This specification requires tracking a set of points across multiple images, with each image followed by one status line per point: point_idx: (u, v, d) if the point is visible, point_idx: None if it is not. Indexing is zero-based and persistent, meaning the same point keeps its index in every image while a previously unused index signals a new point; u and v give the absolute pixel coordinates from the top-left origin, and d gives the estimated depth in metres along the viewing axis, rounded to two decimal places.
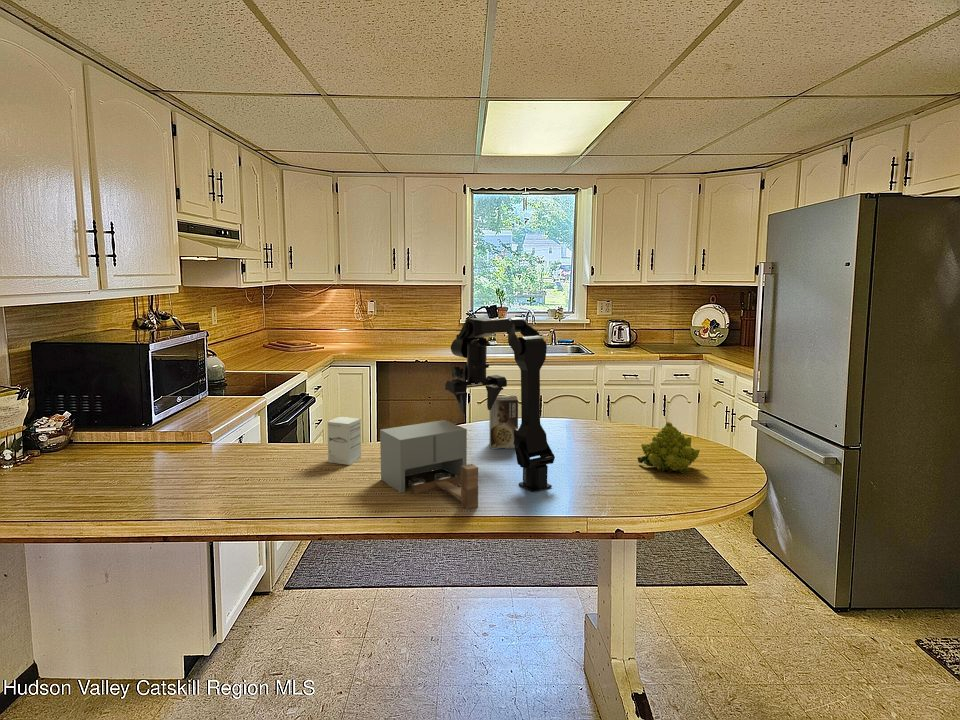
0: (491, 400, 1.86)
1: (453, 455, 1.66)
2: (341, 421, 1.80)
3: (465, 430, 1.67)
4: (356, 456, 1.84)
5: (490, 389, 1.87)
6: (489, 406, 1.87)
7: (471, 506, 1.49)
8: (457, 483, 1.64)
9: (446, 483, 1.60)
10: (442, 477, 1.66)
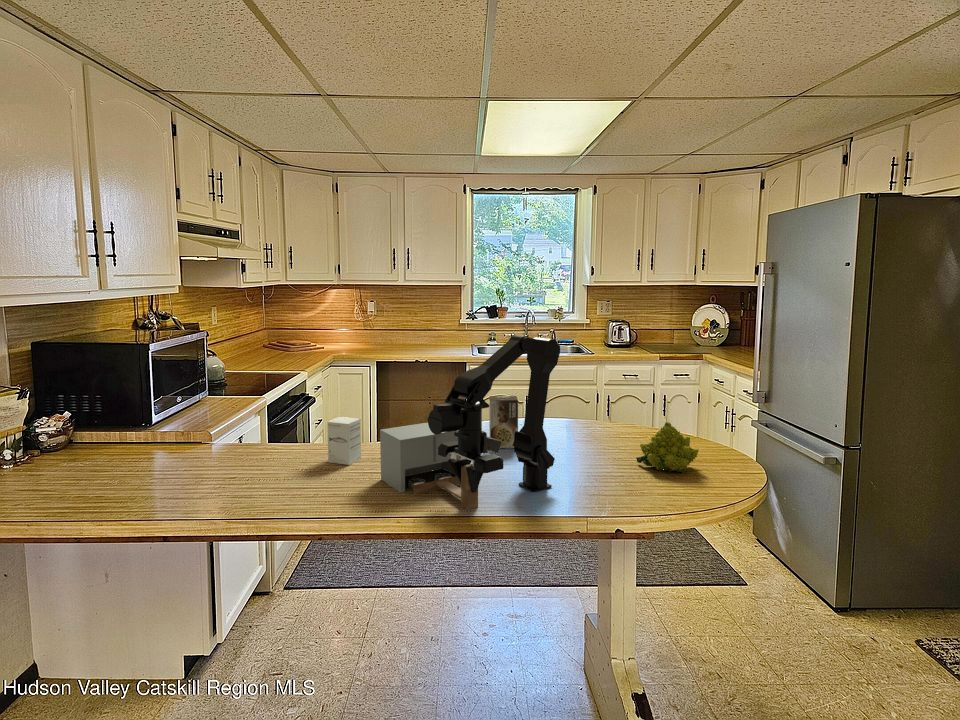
0: None
1: None
2: (341, 421, 1.80)
3: None
4: (356, 456, 1.84)
5: None
6: None
7: (471, 506, 1.49)
8: (457, 483, 1.64)
9: (447, 483, 1.60)
10: (442, 477, 1.66)
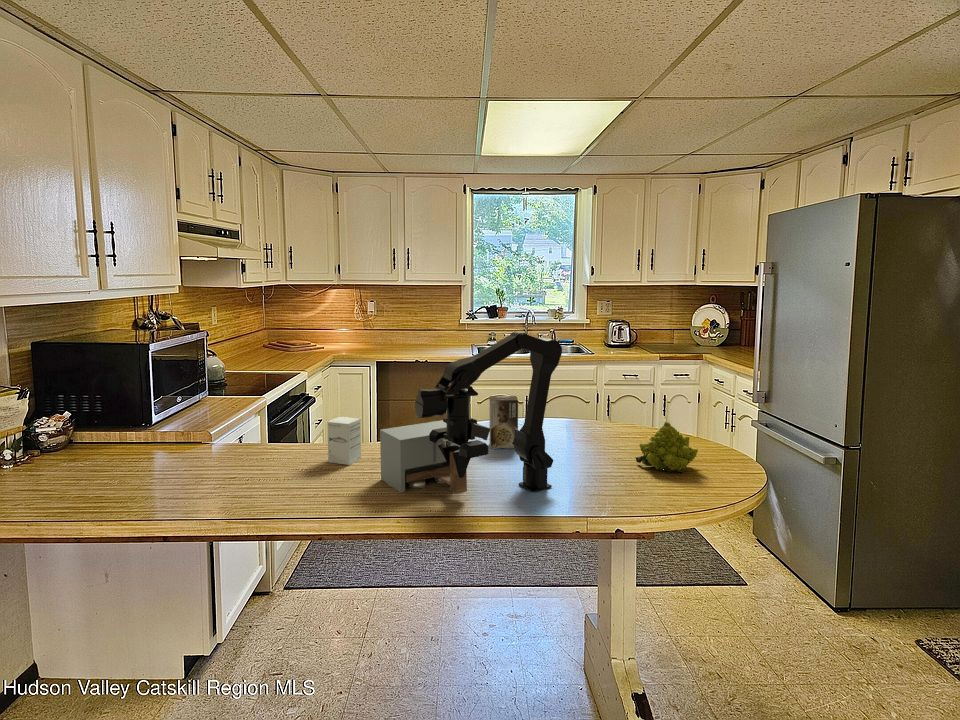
0: None
1: None
2: (341, 421, 1.80)
3: None
4: (356, 456, 1.84)
5: None
6: None
7: (460, 491, 1.52)
8: (448, 472, 1.68)
9: (437, 471, 1.64)
10: None
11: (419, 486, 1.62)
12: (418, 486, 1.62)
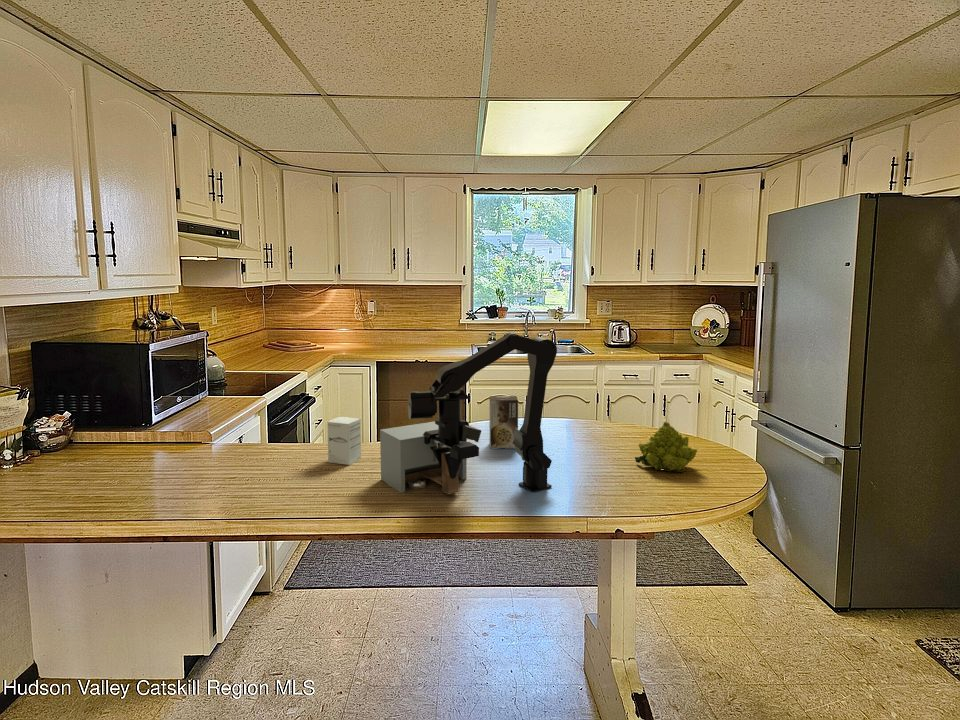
0: None
1: None
2: (341, 421, 1.80)
3: None
4: (356, 456, 1.84)
5: None
6: None
7: (452, 491, 1.56)
8: None
9: (429, 472, 1.67)
10: None
11: (419, 486, 1.62)
12: (418, 486, 1.62)
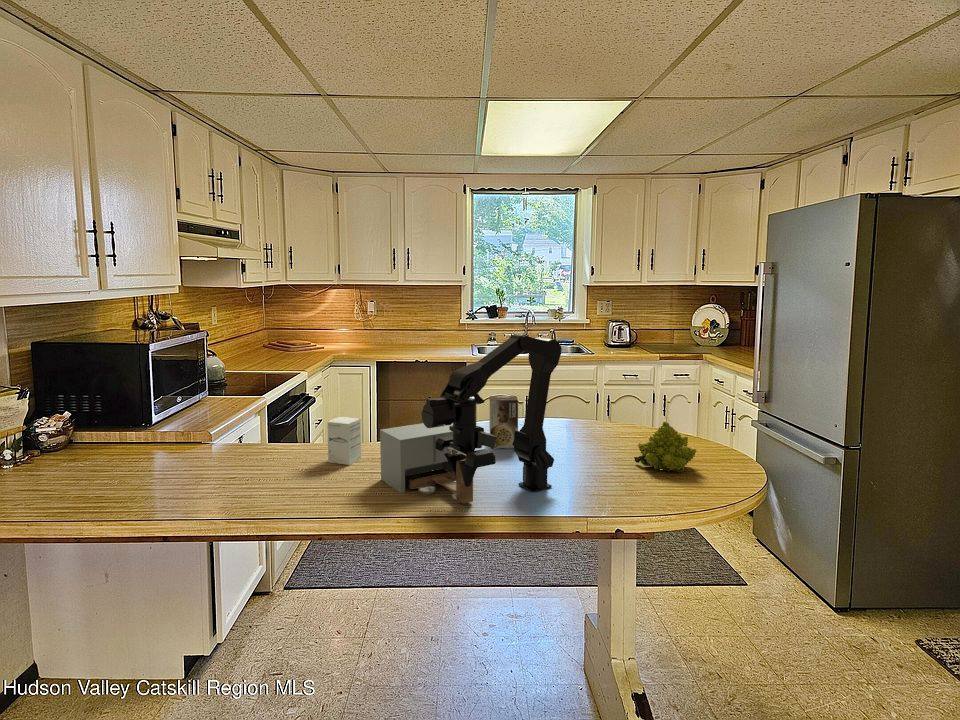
0: None
1: None
2: (341, 421, 1.80)
3: None
4: (356, 456, 1.84)
5: None
6: None
7: (466, 501, 1.50)
8: None
9: (442, 478, 1.61)
10: None
11: (429, 491, 1.57)
12: (428, 491, 1.57)
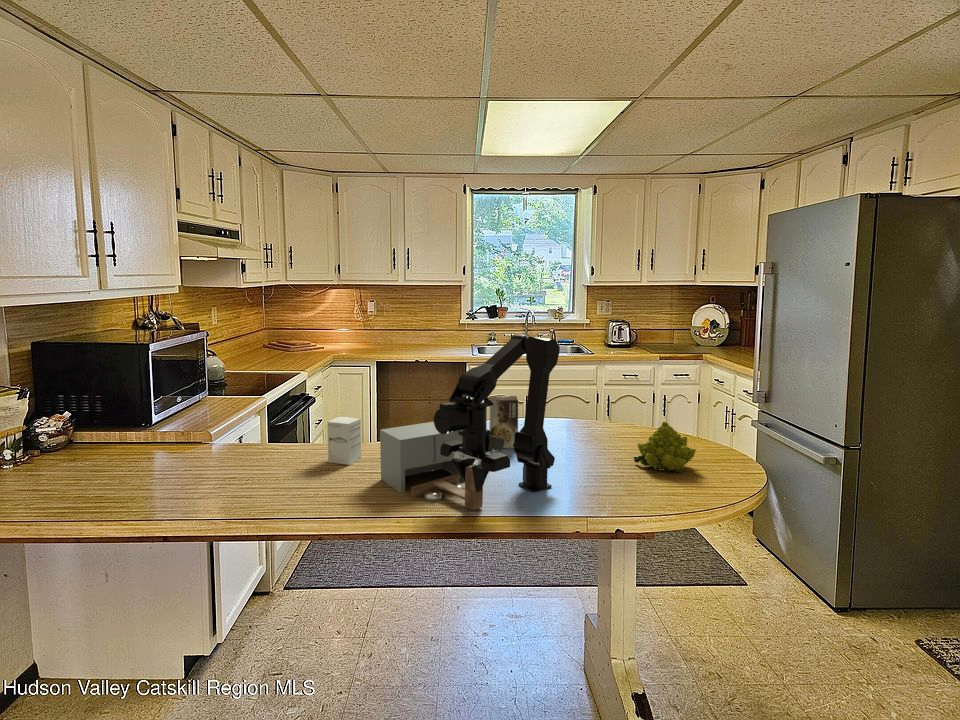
0: None
1: (453, 455, 1.66)
2: (341, 421, 1.80)
3: None
4: (356, 456, 1.84)
5: None
6: None
7: (476, 507, 1.47)
8: (453, 482, 1.62)
9: (445, 483, 1.57)
10: None
11: (437, 498, 1.53)
12: (436, 498, 1.53)
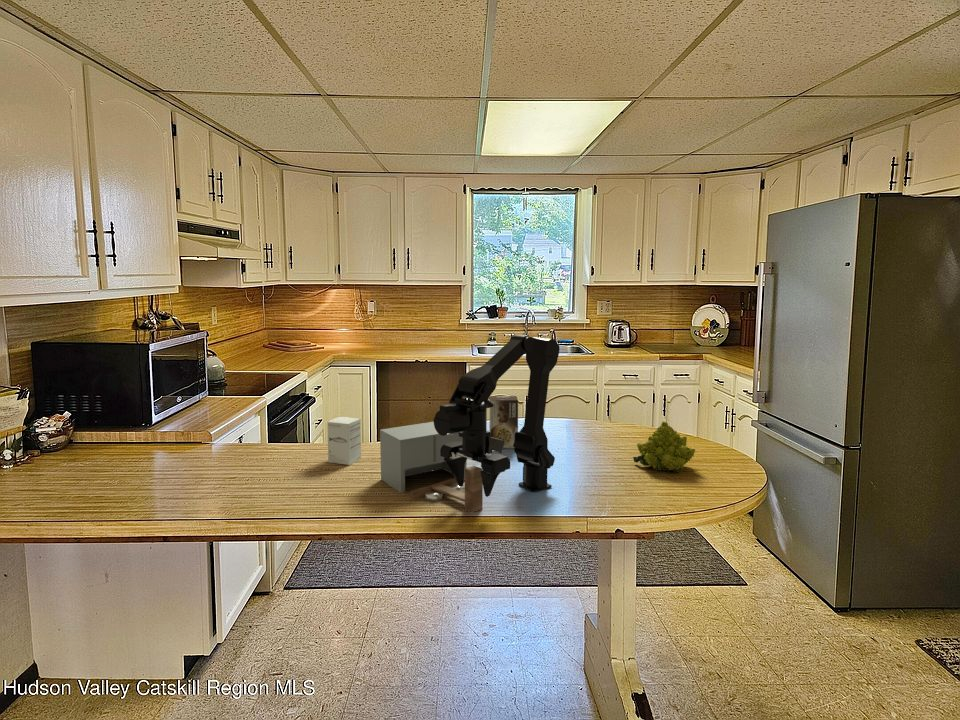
0: None
1: None
2: (341, 421, 1.80)
3: None
4: (356, 456, 1.84)
5: None
6: None
7: (477, 509, 1.47)
8: None
9: (444, 486, 1.57)
10: (458, 487, 1.59)
11: (437, 498, 1.53)
12: (436, 498, 1.53)
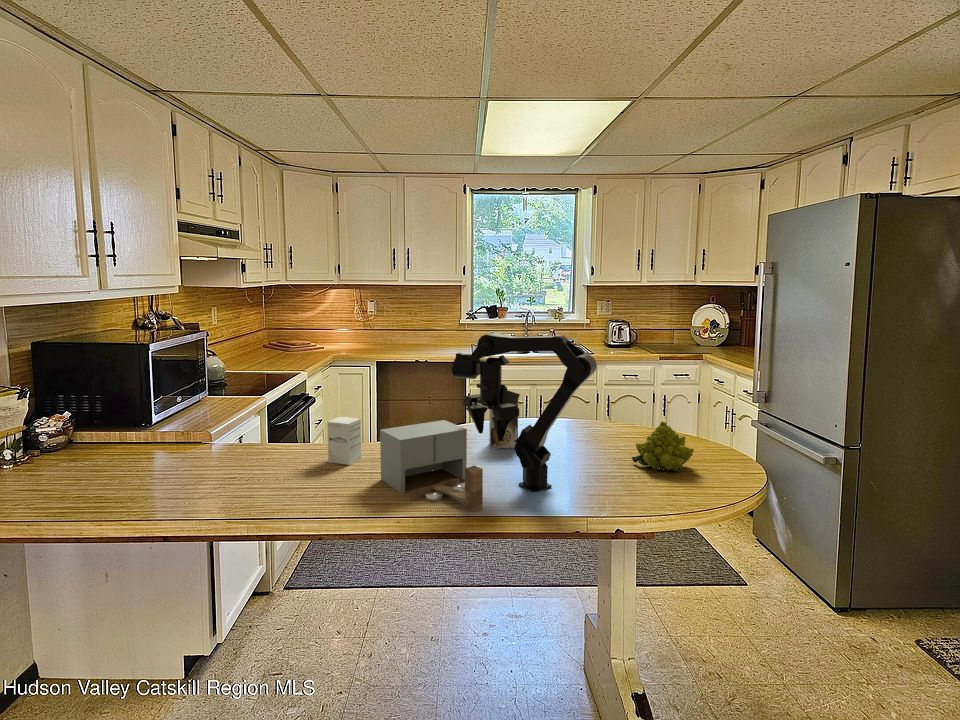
0: None
1: (453, 455, 1.66)
2: (341, 421, 1.80)
3: (465, 430, 1.67)
4: (356, 456, 1.84)
5: None
6: None
7: (477, 509, 1.47)
8: None
9: (444, 486, 1.57)
10: (458, 487, 1.59)
11: (437, 498, 1.53)
12: (436, 498, 1.53)
